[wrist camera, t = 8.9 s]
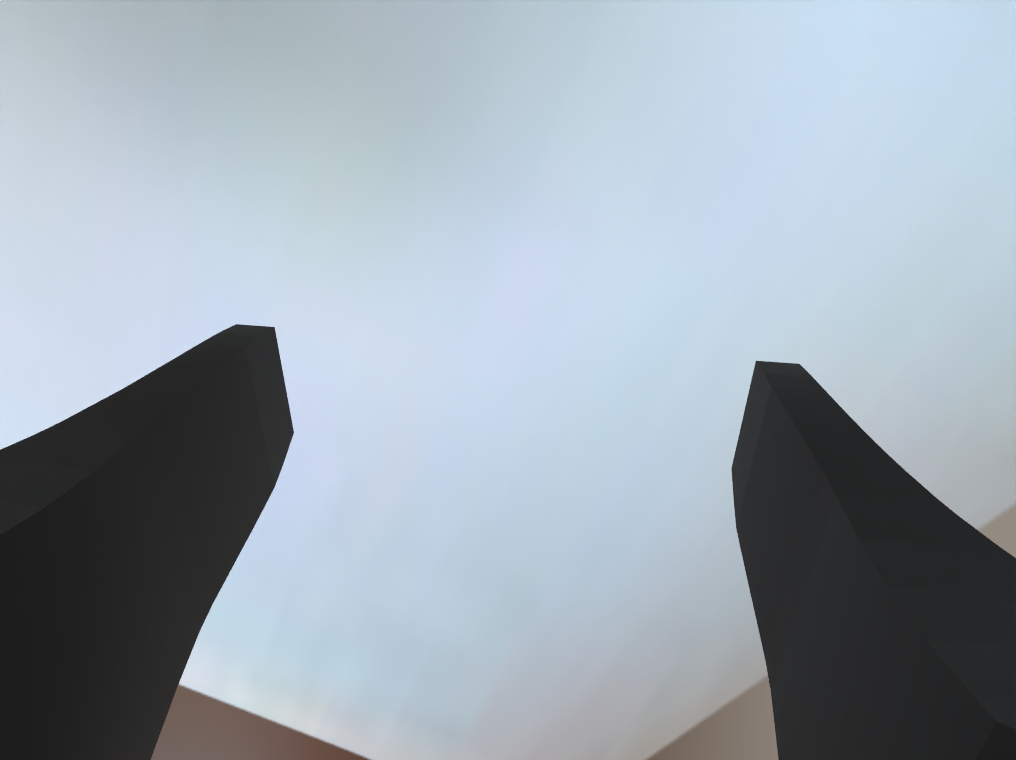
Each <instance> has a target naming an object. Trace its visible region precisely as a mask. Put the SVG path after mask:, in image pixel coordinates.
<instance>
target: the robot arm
mask: <svg viewBox="0 0 1016 760" xmlns="http://www.w3.org/2000/svg"><path fill="white" fill-rule="evenodd" d="M293 433H294V431H293V426H292V420H291V415H290V409H289V404H288V398H287V393H286V387H285V382H284V376H283V371H282V366H281V360H280V355H279V349H278V344H277V338H276V333H275V327H265V326H251V325H237V324H236V325H234V326H232V327H230V328H228V329H226V330H224V331H222V332H220V333H218V334H216V335H214V336H212V337H211V338H209V339H207V340H205V341H204V342H202V343H200V344H198V345H197V346H195V347H193V348H192V349H190V350H188V351H187V352H185V353H183V354H181V355H180V356H178V357H176V358H175V359H173V360H171V361H170V362H168V363H166V364H165V365H163V366H161V367H159V368H158V369H156V370H154V371H153V372H151V373H149V374H148V375H146V376H144V377H142V378H141V379H139V380H137V381H136V382H134V383H132V384H131V385H129V386H127V387H125V388H123V389H122V390H120V391H118V392H116V393H114V394H112V395H110V396H109V397H107V398H105V399H103V400H101V401H99V402H97V403H96V404H94V405H92V406H90V407H88V408H86V409H84V410H83V411H81V412H79V413H77V414H75V415H73V416H71V417H69V418H68V419H66V420H64V421H62V422H60V423H58V424H56V425H54V426H52V427H50V428H48V429H45V430H43V431H41V432H39V433H37V434H35V435H33V436H31V437H28V438H26V439H24V440H22V441H19V442H17V443H15V444H12V445H10V446H8V447H6V448H3V449H1V450H0V760H151V757H152V754H153V751H154V748H155V746H156V743H157V740H158V737H159V735H160V732H161V729H162V727H163V724H164V721H165V719H166V716H167V713H168V710H169V707H170V705H171V702H172V699H173V697H174V694H175V692H176V689H177V686H178V684H179V681H180V679H181V676H182V674H183V671H184V669H185V666H186V664H187V661H188V659H189V656H190V654H191V651H192V649H193V646H194V644H195V641H196V639H197V636H198V634H199V632H200V629H201V627H202V625H203V623H204V621H205V619H206V617H207V615H208V613H209V610H210V608H211V606H212V604H213V602H214V600H215V599H216V597H217V595H218V593H219V591H220V589H221V587H222V585H223V584H224V582H225V580H226V578H227V576H228V574H229V572H230V571H231V569H232V567H233V565H234V563H235V561H236V559H237V557H238V556H239V554H240V552H241V550H242V548H243V546H244V544H245V543H246V541H247V539H248V537H249V535H250V533H251V531H252V530H253V528H254V526H255V524H256V522H257V520H258V518H259V516H260V514H261V512H262V510H263V509H264V507H265V505H266V503H267V501H268V499H269V497H270V495H271V493H272V491H273V489H274V487H275V485H276V482H277V479H278V477H279V474H280V471H281V469H282V466H283V463H284V460H285V457H286V454H287V451H288V448H289V445H290V442H291V439H292V436H293ZM732 481H733V495H734V507H735V518H736V528H737V533H738V538H739V543H740V547H741V552H742V556H743V561H744V566H745V570H746V575H747V579H748V584H749V588H750V593H751V597H752V602H753V606H754V611H755V615H756V620H757V624H758V628H759V633H760V637H761V642H762V646H763V651H764V655H765V660H766V665H767V671H768V677H769V683H770V688H771V695H772V705H773V713H774V722H775V731H776V739H777V749H778V758H779V760H1016V558H1015V557H1013V556H1012V555H1010V554H1009V553H1007V552H1006V551H1005V550H1003V549H1002V548H1000V547H999V546H998V545H996V544H995V543H993V542H992V541H991V540H990V539H988V538H987V537H986V536H984V535H983V534H982V533H980V532H979V531H978V530H976V529H975V528H974V527H972V526H971V525H970V524H968V523H967V522H966V521H964V520H963V519H962V518H960V517H959V516H958V515H957V514H955V513H954V512H953V511H952V510H950V509H949V508H948V507H947V506H945V505H944V504H943V503H942V502H940V501H939V500H938V499H937V498H936V497H935V496H933V495H932V494H931V493H930V492H929V491H928V490H927V489H925V488H924V487H923V486H922V485H921V484H920V483H919V482H917V481H916V480H915V479H914V478H913V477H912V476H911V475H909V474H908V473H907V472H906V471H905V470H904V469H903V468H902V467H901V466H900V465H898V464H897V463H896V462H895V461H894V460H893V459H892V458H891V457H890V456H889V455H888V454H887V453H886V452H885V451H884V450H883V449H882V448H881V447H879V446H878V445H877V444H876V443H875V442H874V441H873V440H872V439H871V438H870V437H869V436H868V435H867V434H866V433H865V432H864V431H863V430H862V429H861V428H860V427H859V426H858V425H857V424H856V422H855V421H854V420H853V419H852V418H851V417H850V416H849V415H848V414H847V413H846V412H845V411H844V410H843V409H842V408H841V407H840V406H839V405H838V404H837V403H836V402H835V401H834V399H833V398H832V397H831V396H830V395H829V394H828V393H827V392H826V391H825V390H824V389H823V388H822V387H821V386H820V385H819V384H818V382H817V381H816V380H815V379H814V378H813V377H812V376H811V375H810V374H809V373H808V372H807V371H806V370H805V369H804V368H803V367H802V366H801V365H800V364H793V363H778V362H764V361H756V363H755V368H754V372H753V376H752V381H751V385H750V390H749V394H748V398H747V403H746V407H745V412H744V416H743V421H742V425H741V429H740V434H739V438H738V443H737V447H736V451H735V456H734V460H733V465H732Z"/></svg>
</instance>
